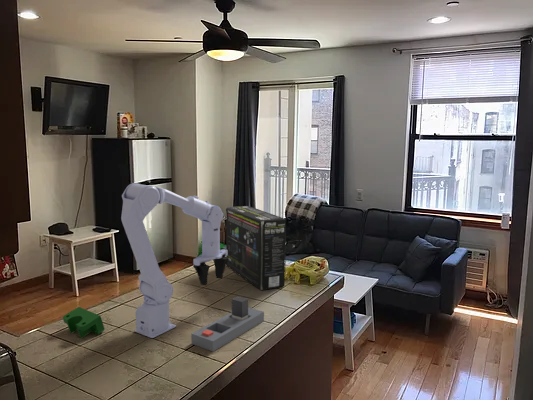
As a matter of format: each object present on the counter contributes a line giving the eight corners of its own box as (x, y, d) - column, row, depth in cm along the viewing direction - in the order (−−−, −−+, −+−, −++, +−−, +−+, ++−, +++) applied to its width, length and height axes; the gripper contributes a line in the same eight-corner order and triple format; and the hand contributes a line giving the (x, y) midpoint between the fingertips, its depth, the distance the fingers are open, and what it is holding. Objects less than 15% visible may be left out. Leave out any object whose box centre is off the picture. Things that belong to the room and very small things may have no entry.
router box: (286, 287, 169) (287, 218, 165) (261, 291, 164) (261, 221, 159) (247, 262, 200) (247, 204, 196) (224, 265, 195) (224, 206, 191)
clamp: (73, 344, 131) (58, 318, 131) (90, 332, 136) (76, 307, 135) (90, 342, 123) (74, 313, 123) (108, 329, 128) (93, 302, 127)
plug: (242, 327, 132) (242, 302, 131) (231, 324, 134) (231, 299, 133) (248, 323, 135) (248, 298, 133) (237, 320, 137) (237, 296, 136)
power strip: (213, 351, 119) (212, 339, 118) (191, 343, 123) (191, 331, 122) (264, 320, 138) (264, 309, 138) (243, 314, 143) (243, 304, 142)
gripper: (204, 247, 135) (205, 290, 137) (234, 238, 146) (234, 277, 148) (188, 244, 138) (189, 285, 141) (218, 235, 150) (218, 273, 152)
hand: (211, 281), depth 145 cm, fingers open, 7 cm apart
